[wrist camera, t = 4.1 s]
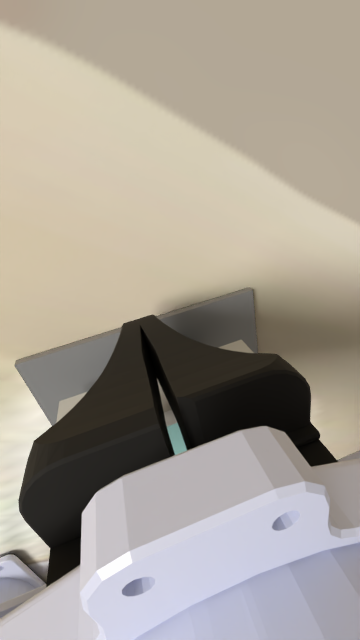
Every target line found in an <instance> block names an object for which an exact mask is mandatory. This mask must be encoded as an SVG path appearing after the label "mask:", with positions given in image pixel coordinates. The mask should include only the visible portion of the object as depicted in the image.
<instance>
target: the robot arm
mask: <svg viewBox="0 0 360 640" xmlns="http://www.w3.org/2000/svg"><path fill="white" fill-rule="evenodd" d="M157 379H158V381H159V383H160V386H161V388H162V390H163V392H164V394H165V397H166V399H167V401H168V403H169V405H170V407H171V410H172V412H173V414H174V416H175V418H176V421H177V423H178V426H179V428H180V431H181V434H182V437H183V440H184V443H185V446H186V449H187V451H185V452H182V453H180V454H177V455H175V453H174V450H173V446H172V443H171V440H170V437H169V433H168V430H167V425H166V421H165V416H164V411H163V406H162V401H161V396H160V391H159V386H158V381H157ZM310 408H311V393H310V386H309V385H308V383H307V381H306V379H305V378H304V377H303V376H302V375H301V374H300V373H299V372H298V371H297V370H296V369H295V368H293V367H292V366H291V365H290V364H289V363H288V362H286V361H285V360H284V359H282V358H281V357H280V356H279V355H277V354H262V353H246V352H238V351H231V350H226V349H221V348H217V347H213V346H210V345H206V344H203V343H201V342H198V341H195V340H193V339H190V338H188V337H186V336H184V335H182V334H181V333H179V332H177V331H175V330H174V329H172V328H171V327H169V326H168V325H166V324H165V323H163V322H162V321H161V320H159V319H158V318H157V317H156V316H154V315H149V316H146V317H143V318H140V319H137V320H134V321H130V322H127V323H124V324H123V326H122V328H121V332H120V335H119V338H118V341H117V343H116V346H115V348H114V351H113V353H112V355H111V357H110V359H109V361H108V363H107V365H106V367H105V369H104V370H103V372H102V374H101V375H100V376H99V378H98V379H97V381H96V382H95V383H94V385H93V386H92V387H91V388H90V389H89V391H88V392H87V393H86V394H85V395H84V397H83V398H82V399H81V400H80V401H79V402H78V403H77V404H76V405H75V406H74V407H73V408H72V409H71V410H70V411H69V412H68V413H67V414H66V415H65V416H64V417H63V418H61V419H60V420H59V421H58V422H57V423H56V424H54V425H53V426H52V427H51V428H49V429H48V430H47V431H46V432H45V433H43V434H42V435H41V436H40V437H38V438H37V439H36V440H34V443H33V446H32V449H31V452H30V455H29V458H28V461H27V465H26V469H25V473H24V478H23V483H22V487H21V492H20V496H19V511H20V513H21V515H22V516H23V518H24V520H25V521H26V522H27V523H28V524H29V526H30V527H31V528H32V529H33V530H34V531H35V532H36V533H37V534H38V535H39V536H40V537H41V539H42V540H43V541H44V542H45V543H46V544H47V545H48V546H49V547H50V557H49V567H48V576H47V584H46V583H44V582H43V581H42V580H41V579H40V578H39V577H38V576H37V575H36V574H35V573H34V572H33V571H32V570H30V569H29V568H28V567H27V566H26V565H25V564H24V563H23V562H22V561H21V560H20V559H19V558H18V557H16V556H15V555H12V554H11V555H6V556H3V557H1V558H0V640H360V451H357V452H355V453H353V454H350V455H348V456H346V457H343V458H341V459H339V460H336V459H335V458H334V456H333V455H332V454H331V453H330V452H329V451H328V449H327V448H326V447H325V446H324V445H323V444H322V442H321V441H320V440H319V438H320V434H319V431H318V430H317V429H316V428H315V427H314V426H313V425H312V424H311V422H310Z"/></svg>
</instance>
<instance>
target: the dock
mask: <svg viewBox="0 0 360 640" xmlns="http://www.w3.org/2000/svg"><path fill="white" fill-rule="evenodd" d="M156 317H157V318H158V319H159V320H161V321H162V322H163V323H165V324H166V325H168V326H169V327H171V328H172V329H174V330H175V331H177V332H179V333H181V334H182V335H184V336H186V337H188V338H190V339H193V340H195V341H198V342H201V343H203V344H206V345H210V346H213V347H217V348H218V347H221V346H224V345H227V344H229V343H232V342H235V341H238V340H241V339H242V341H243V342H244V343H245V344H246V345H247V346H248V347H249V348H250V349H251V350H252V352H253V353H258V348H257V335H256V323H255V311H254V299H253V290H252V289H251V288H246V289H243V290H239V291H236V292H233V293H230V294H227V295H223V296H220V297H217V298H214V299H211V300H207V301H204V302H201V303H198V304H195V305H191V306H188V307H185V308H182V309H179V310H176V311H172V312H169V313H166V314H163V315H160V316H156ZM121 328H122V327H121ZM121 328H118V329H115V330H112V331H108V332H105V333H102V334H99V335H96V336H93V337H89V338H86V339H83V340H80V341H77V342H73V343H70V344H67V345H64V346H61V347H57V348H54V349H51V350H48V351H45V352H41V353H38V354H35V355H32V356H29V357H25V358H22V359H19V360H16V362H15V367H16V369H17V370H18V372H19V373H20V375H21V377H22V378H23V380H24V381H25V383H26V385H27V386H28V388H29V389H30V391H31V393H32V394H33V396H34V397H35V399H36V401H37V402H38V404H39V405H40V407H41V409H42V410H43V412H44V413H45V415H46V417H47V418H48V420H49V421H50V423H51V425H52V426H53V425H54V424H56V421H57V414H58V407H59V401H62V400H65V399H67V398H70V397H73V396H76V395H79V394H82V393H85V392H88V391H89V389H90V388H91V387H92V386H93V385H94V383H95V382H96V381H97V379H98V378H99V376H100V375H101V374H102V372H103V370H104V369H105V367H106V365H107V363H108V361H109V359H110V357H111V355H112V353H113V351H114V348H115V346H116V343H117V341H118V338H119V335H120V332H121Z"/></svg>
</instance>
